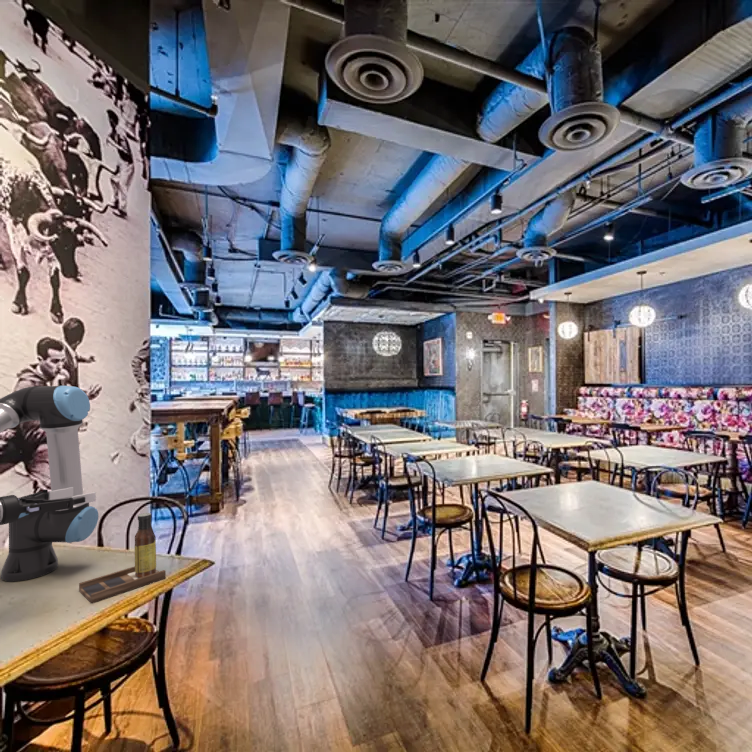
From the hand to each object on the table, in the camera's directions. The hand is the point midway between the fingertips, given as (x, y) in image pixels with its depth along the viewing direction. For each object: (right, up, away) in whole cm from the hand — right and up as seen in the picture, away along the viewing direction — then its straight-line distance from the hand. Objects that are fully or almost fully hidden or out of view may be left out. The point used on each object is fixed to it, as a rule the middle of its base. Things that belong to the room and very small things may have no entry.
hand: (83, 493), depth 131 cm
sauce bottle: (+16, -29, +7) cm, 34 cm away
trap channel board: (+11, -30, +2) cm, 32 cm away
